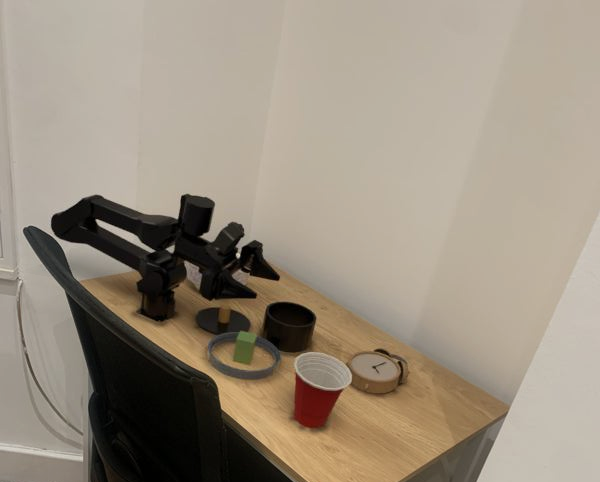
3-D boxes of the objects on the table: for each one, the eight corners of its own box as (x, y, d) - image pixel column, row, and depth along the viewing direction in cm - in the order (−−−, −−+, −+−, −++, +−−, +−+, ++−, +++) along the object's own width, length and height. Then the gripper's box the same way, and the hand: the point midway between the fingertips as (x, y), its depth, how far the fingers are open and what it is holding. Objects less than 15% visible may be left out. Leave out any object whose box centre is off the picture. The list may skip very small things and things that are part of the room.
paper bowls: (193, 268, 165) (196, 240, 161) (250, 283, 165) (255, 254, 161) (175, 293, 152) (178, 262, 148) (237, 308, 152) (242, 278, 148)
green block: (232, 361, 132) (236, 338, 129) (236, 352, 135) (240, 330, 132) (249, 365, 132) (254, 342, 129) (253, 356, 135) (257, 334, 132)
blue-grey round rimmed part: (192, 362, 130) (193, 351, 129) (230, 334, 142) (232, 324, 140) (256, 391, 126) (258, 380, 125) (290, 360, 138) (292, 350, 137)
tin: (251, 341, 141) (256, 313, 137) (275, 323, 150) (280, 296, 146) (296, 360, 138) (303, 332, 134) (317, 341, 147) (324, 314, 143)
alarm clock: (336, 359, 136) (387, 336, 144) (334, 377, 139) (384, 353, 147) (372, 388, 130) (424, 362, 137) (369, 406, 133) (419, 380, 140)
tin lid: (184, 324, 142) (186, 305, 139) (214, 305, 151) (216, 288, 149) (232, 345, 138) (235, 326, 136) (259, 324, 148) (262, 306, 145)
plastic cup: (313, 447, 115) (328, 393, 109) (270, 416, 120) (281, 362, 114) (349, 425, 123) (365, 373, 116) (307, 396, 128) (319, 345, 121)
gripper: (180, 233, 118) (252, 269, 115) (234, 204, 132) (299, 236, 128) (173, 283, 125) (240, 319, 122) (225, 251, 139) (287, 282, 136)
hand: (268, 287), depth 127 cm, fingers open, 9 cm apart
